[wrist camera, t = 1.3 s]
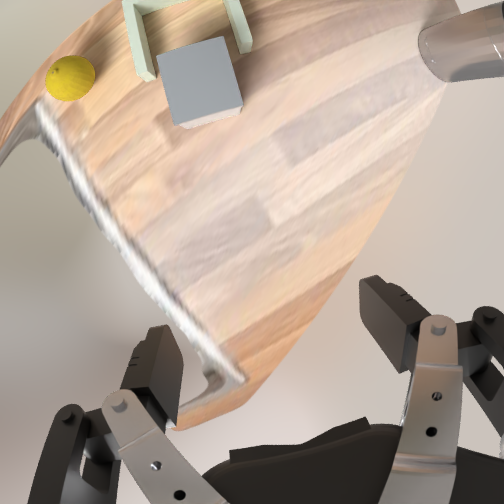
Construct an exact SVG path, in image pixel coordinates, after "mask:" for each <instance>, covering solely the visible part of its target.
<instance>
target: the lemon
mask: <svg viewBox="0 0 504 504" xmlns="http://www.w3.org/2000/svg"><path fill="white" fill-rule="evenodd" d="M94 80H95V71H94V68H93V66H92V64H91V63H90V62H89V61H88V60H87V59H85V58H83V57H80V56H66V57H62V58H60V59H59V60H57V61H56V62H55V63H54V64H53V65H52V66H51V67H50V69H49V70H48V72H47V75H46V80H45V81H46V88H47V90H48V92H49V93H50V94H51V95H52V96H53V97H55V98H56V99H58V100H62V101H74V100H77V99H80V98H81V97H83V96H84V95H86V94H87V93H88V92H89V90H90V89H91V88H92V86H93V84H94Z"/></svg>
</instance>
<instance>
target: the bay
mask: <svg viewBox="0 0 504 504" xmlns="http://www.w3.org/2000/svg"><path fill="white" fill-rule="evenodd" d="M185 1H189V0H123V1H122V5H123V11H124V17H125V22H126V27H127V32H128V37H129V42H130V47H131V51H132V56H133V60H134V65H135V69H136V73H137V75H138V76H139V77H140V78H142V79H143V80H145V81H146V82H149V81H152V80H155V79H157V78H156V74H155V70H154V66H153V62H152V58H151V54H150V50H149V46H148V41H147V37H146V33H145V28H144V24H143V19H142V16H143V15H146V14H148V13H151V12H154V11H157V10H160V9H162V8H165V7H169V6H172V5H175V4H178V3H181V2H185ZM223 2H224V5H225V8H226V11H227V14H228V17H229V21H230V24H231V27H232V30H233V33H234V36H235V39H236V43H237V46H238V49H239V52H240V54H245V53H250V51H251V47H252V43H253V39H252V36H251V33H250V30H249V27H248V24H247V21H246V18H245V15H244V12H243V10H242V7H241V4H240V1H239V0H223Z"/></svg>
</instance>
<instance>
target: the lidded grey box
mask: <svg viewBox="0 0 504 504" xmlns="http://www.w3.org/2000/svg"><path fill="white" fill-rule="evenodd" d="M156 58H157V62H158V66H159V70H160V74H161V78H162V82H163V86H164V89H165V93H166V97H167V101H168V104H169V108H170V112H171V115H172V119H173V123H174V125H175V126H177V125H179V126H181V127H184V128H186V129H191V128H194V127H197V126H200V125H204V124H207V123H210V122H214V121H218V120H221V119H225V118H228V117H232V116H236V115H239V114H240V111H241V107H243V106H244V104H243V101H242V97H241V94H240V90H239V87H238V83H237V80H236V77H235V73H234V70H233V66H232V63H231V60H230V56H229V53H228V50H227V46H226V43H225V40H224V36H220V37H216V38H212V39H208V40H205V41H201V42H197V43H194V44H190V45H187V46H184V47H181V48H177V49H174V50H171V51H168V52H165V53H163V54H160V55H157V56H156Z"/></svg>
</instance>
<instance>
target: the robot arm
mask: <svg viewBox="0 0 504 504" xmlns="http://www.w3.org/2000/svg"><path fill="white" fill-rule="evenodd" d="M418 42H419V49H420V53H421V55H422V58H423V60H424V62H425V63H426V65H427V66H428V68H429V69H430V70H431V71H432V73H433V74H434V75H436V76H437V77H438V78H439V79H441V80H443V81H445V82H458V81H465V80H474V79H484V78H494V77H504V1H502V2H499V3H495V4H491V5H488V6H485V7H482V8H479V9H476V10H473V11H470V12H467V13H464V14H461V15H459V16H456V17H453V18H451V19H448V20H446V21H443V22H440V23H438V24H436V25H433V26H431V27H429V28H426V29H424V30H423V31H422V32H421V33H420V35H419V40H418ZM359 299H360V316H361V319H362V322H363V323H364V325H365V327H366V328H367V329H368V331H369V332H370V334H371V335H372V336H373V338H374V339H375V340H376V342H377V343H378V345H379V346H380V347H381V349H382V350H383V352H384V353H385V354H386V356H387V357H388V359H389V360H390V362H391V363H392V364H393V366H394V367H395V369H396V370H397V372H398V373H402V372H404V371H407V370H409V371H410V372H411V377H410V382H409V387H408V391H407V396H406V401H405V405H404V409H403V413H402V417H401V421H400V424H399V426H398V425H393V424H371V425H370V424H369V422H368V420H367V418H366V417H363V418H360V419H357V420H355V421H352V422H349V423H346V424H343V425H340V426H337V427H334V428H332V429H330V430H328V431H326V432H324V433H323V434H321V435H319V436H317V437H315V438H313V439H311V440H309V441H307V442H305V443H303V444H298V445H260V446H255V447H248V448H242V449H235V450H229V453H230V459H229V460H226V461H224V462H222V463H220V464H218V465H216V466H215V467H213V468H211V469H210V470H208V471H207V472H206V473H204V474H203V475H202V476H201V475H200V474H199V473H198V472H197V471H196V470H195V469H194V468H193V467H192V466H191V465H190V463H189V462H188V461H187V460H186V459H185V458H184V457H183V456H182V455H181V453H180V452H179V451H178V450H177V449H176V448H175V446H174V445H173V444H172V443H171V442H170V440H169V439H168V438H167V437H166V435H165V430H166V428H170V427H176V423H177V414H178V406H179V397H180V389H181V381H182V374H183V366H184V365H183V358H182V354H181V352H180V349H179V347H178V345H177V343H176V341H175V338H174V336H173V334H172V332H171V329H170V327H169V326H168V325H161V326H156V327H151V328H149V330H148V333H147V336H146V339H145V340H144V341H141V342H140V343H139V344H138V345H137V346H136V347H135V348H134V350H133V353H132V356H131V359H130V361H129V364H128V366H129V367H127V370H126V372H125V375H124V378H123V381H122V384H121V387H120V390H117V391H115V392H113V393H111V394H110V395H108V396H107V397H106V398H105V400H104V401H103V403H102V408H99V409H96V410H93V411H89V412H84V411H83V409H82V408H81V407H80V406H79V405H77V404H69V405H66V406H64V407H63V408H61V409H60V410H59V411H58V413H57V414H56V415H55V418H54V420H53V423H52V425H51V428H50V431H49V434H48V436H47V439H46V442H45V445H44V448H43V451H42V454H41V457H40V460H39V463H38V467H37V470H36V473H35V476H34V480H33V484H32V487H31V491H30V495H29V499H28V503H27V504H116V499H117V488H118V481H119V473H120V465H121V459H123V461H124V463H125V465H126V466H127V468H128V470H129V472H130V473H131V475H132V476H133V478H134V480H135V481H136V483H137V484H138V486H139V487H140V489H141V490H142V492H143V493H144V494H145V496H146V498H147V499H148V500H149V502H150V503H151V504H504V376H503V375H502V374H501V373H500V371H498V369H497V368H496V367H495V366H494V364H493V363H492V362H491V359H492V356H494V357H495V358H496V359H497V361H498V362H499V363H500V364H501V365H502V367H503V369H504V314H503V313H502V312H501V311H499V310H498V309H496V308H494V307H489V306H483V307H480V308H477V309H476V310H475V311H474V313H473V317H472V321H467V322H461V323H455V322H454V321H453V320H452V319H451V318H449V317H447V316H444V315H431V314H430V313H429V312H428V311H427V310H426V309H425V308H423V307H422V306H421V305H420V304H419V303H418V302H417V301H416V300H415V299H413V297H412V296H410V295H409V294H407V292H406V291H405V290H404V289H403V288H401V287H400V286H398V285H395V284H393V283H386V282H385V281H384V280H383V279H381V277H379V276H378V275H374V276H370V277H367V278H364V279H361V280H360V282H359ZM463 382H464V384H465V385H466V386H467V388H468V389H469V391H470V392H471V393H472V395H473V396H474V398H475V399H476V400H477V402H478V403H479V405H480V406H481V408H482V409H483V411H484V412H485V414H486V415H487V417H488V418H489V420H490V421H491V423H492V424H493V426H494V427H495V429H496V431H497V432H498V433H499V435H500V437H501V441H500V450H501V452H500V454H499V457H500V458H497V457H493V456H489V455H486V454H482V453H478V452H475V451H471V450H468V449H465V448H462V447H458V446H457V444H458V436H459V429H460V419H461V406H462V387H463ZM83 454H84V455H85V456H86V460H85V465H84V469H83V475H82V477H81V475H80V464H81V460H82V455H83Z"/></svg>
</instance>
